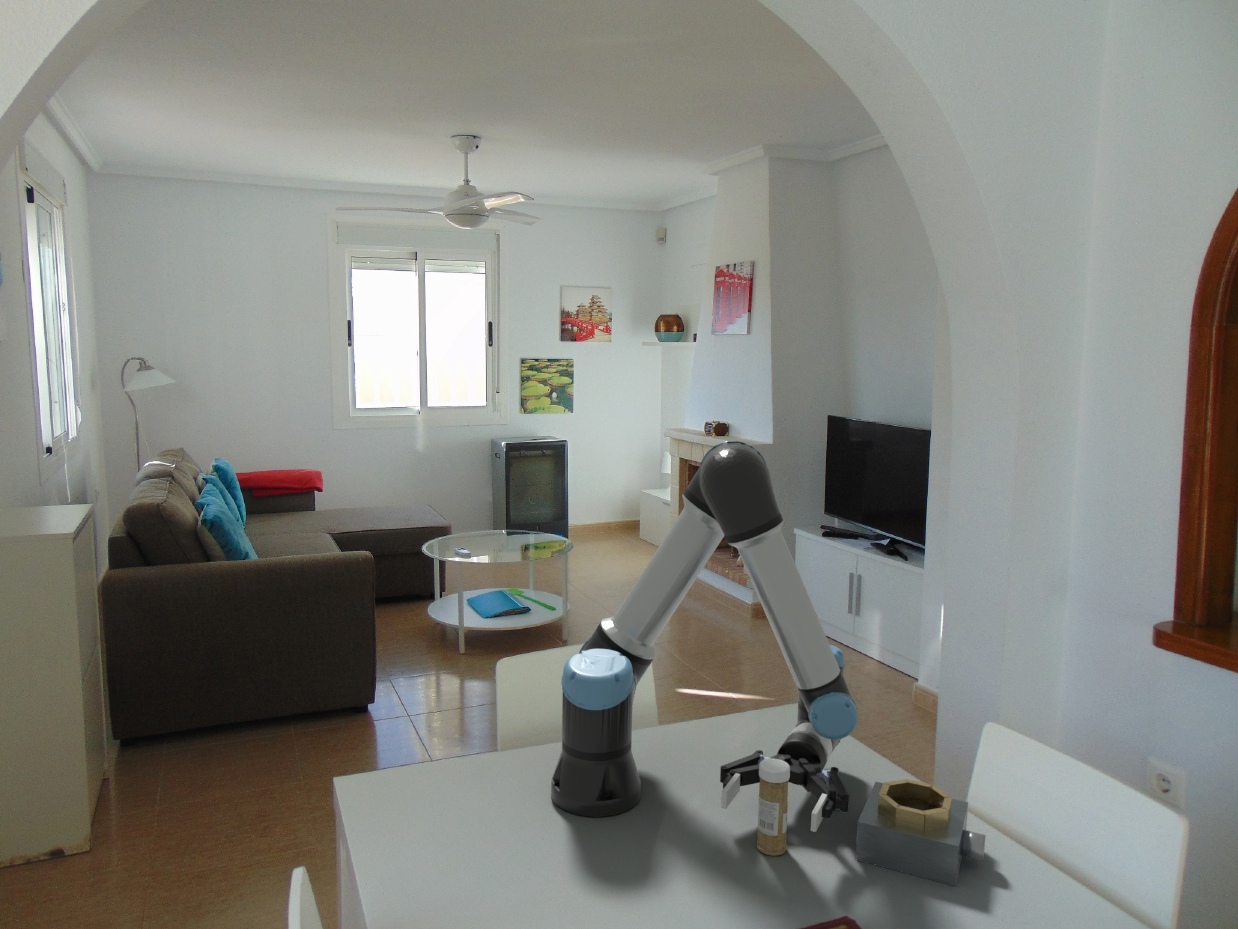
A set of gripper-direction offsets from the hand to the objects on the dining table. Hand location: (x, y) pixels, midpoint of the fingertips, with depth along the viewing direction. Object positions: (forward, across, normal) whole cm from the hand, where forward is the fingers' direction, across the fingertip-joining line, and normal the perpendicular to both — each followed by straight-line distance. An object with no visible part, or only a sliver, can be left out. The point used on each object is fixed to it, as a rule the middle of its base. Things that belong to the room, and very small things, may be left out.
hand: (767, 811), depth 130 cm
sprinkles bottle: (-3, 0, -8) cm, 8 cm away
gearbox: (-13, -20, -7) cm, 25 cm away
